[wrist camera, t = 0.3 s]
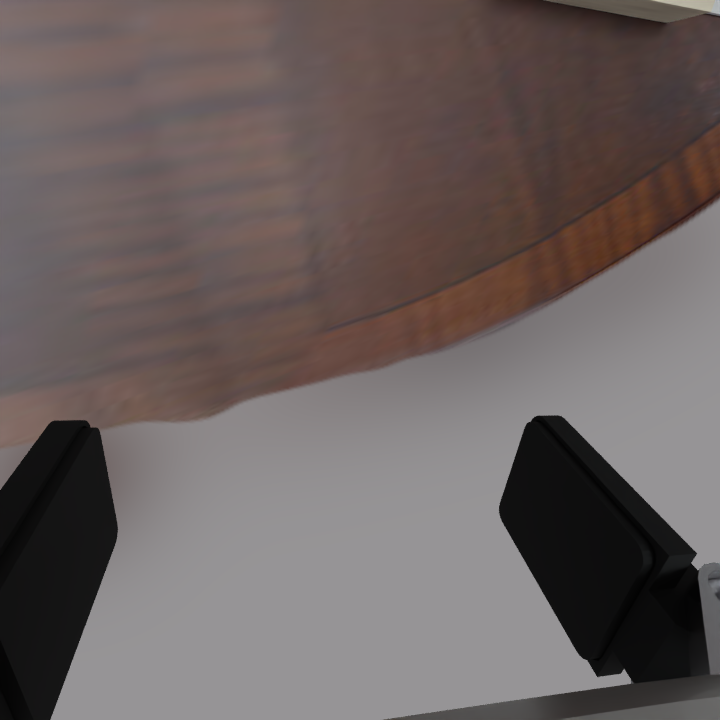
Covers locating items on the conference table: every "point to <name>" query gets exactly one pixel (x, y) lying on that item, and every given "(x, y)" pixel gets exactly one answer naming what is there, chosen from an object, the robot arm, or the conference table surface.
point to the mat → (715, 8)
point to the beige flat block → (647, 8)
